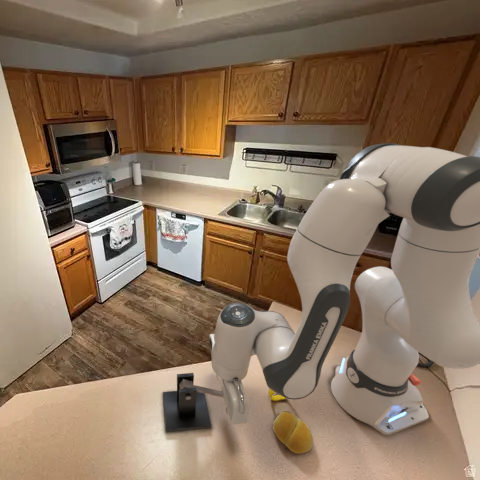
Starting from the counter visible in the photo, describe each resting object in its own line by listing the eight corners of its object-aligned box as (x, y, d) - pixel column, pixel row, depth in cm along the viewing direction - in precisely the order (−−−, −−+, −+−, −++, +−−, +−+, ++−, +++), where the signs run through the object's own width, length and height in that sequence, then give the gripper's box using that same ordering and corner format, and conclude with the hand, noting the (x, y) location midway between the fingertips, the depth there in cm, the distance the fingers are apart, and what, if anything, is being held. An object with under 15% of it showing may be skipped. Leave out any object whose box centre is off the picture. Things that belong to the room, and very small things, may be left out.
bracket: (203, 390, 77) (205, 363, 71) (211, 428, 68) (214, 400, 62) (163, 394, 76) (161, 366, 70) (166, 432, 68) (165, 404, 62)
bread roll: (302, 463, 61) (306, 455, 59) (267, 431, 67) (270, 423, 65) (317, 436, 66) (321, 428, 64) (282, 409, 72) (285, 400, 70)
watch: (285, 391, 76) (289, 379, 73) (290, 401, 73) (295, 389, 71) (265, 394, 75) (269, 382, 72) (270, 404, 73) (274, 392, 70)
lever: (222, 388, 73) (227, 383, 72) (228, 407, 69) (232, 402, 68) (178, 379, 69) (182, 373, 68) (180, 398, 65) (185, 392, 64)
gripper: (259, 403, 54) (250, 437, 61) (229, 328, 72) (225, 360, 79) (230, 406, 54) (223, 439, 61) (207, 329, 72) (204, 362, 79)
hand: (224, 394), depth 70 cm, fingers open, 8 cm apart
